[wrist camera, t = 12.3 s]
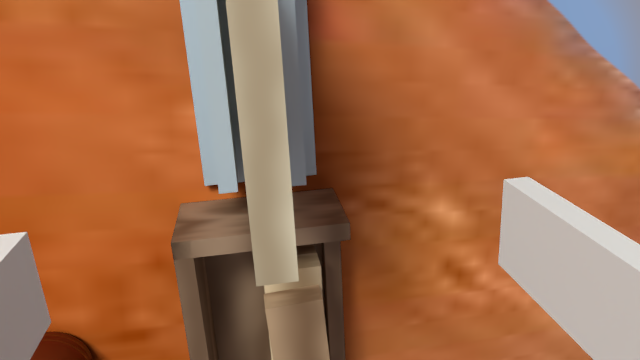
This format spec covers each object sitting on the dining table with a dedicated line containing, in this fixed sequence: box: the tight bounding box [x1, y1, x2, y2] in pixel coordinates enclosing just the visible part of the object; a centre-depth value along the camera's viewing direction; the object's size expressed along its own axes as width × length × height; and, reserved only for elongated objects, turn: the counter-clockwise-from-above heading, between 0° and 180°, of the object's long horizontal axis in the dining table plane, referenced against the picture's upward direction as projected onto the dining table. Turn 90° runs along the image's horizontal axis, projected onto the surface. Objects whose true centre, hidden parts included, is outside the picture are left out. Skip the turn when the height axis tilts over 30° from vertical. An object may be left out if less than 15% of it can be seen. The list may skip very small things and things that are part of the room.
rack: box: [171, 188, 351, 360], centre depth 49 cm, size 14×22×8 cm, turn 3°
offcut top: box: [264, 285, 330, 360], centre depth 46 cm, size 5×10×2 cm, turn 6°
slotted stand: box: [180, 0, 317, 194], centre depth 42 cm, size 10×22×6 cm, turn 3°
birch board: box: [226, 0, 299, 286], centre depth 33 cm, size 2×16×23 cm, turn 3°
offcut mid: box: [264, 253, 323, 360], centre depth 48 cm, size 5×11×2 cm, turn 3°
